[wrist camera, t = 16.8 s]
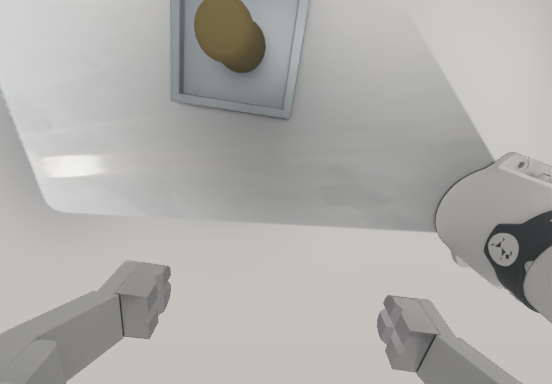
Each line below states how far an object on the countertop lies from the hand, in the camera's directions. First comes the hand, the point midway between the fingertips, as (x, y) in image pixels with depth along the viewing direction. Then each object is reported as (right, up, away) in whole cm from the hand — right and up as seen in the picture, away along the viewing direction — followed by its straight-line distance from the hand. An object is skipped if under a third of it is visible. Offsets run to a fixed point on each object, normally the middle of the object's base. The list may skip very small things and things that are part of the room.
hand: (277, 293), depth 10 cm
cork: (-4, +21, +22) cm, 31 cm away
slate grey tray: (-5, +22, +23) cm, 32 cm away
